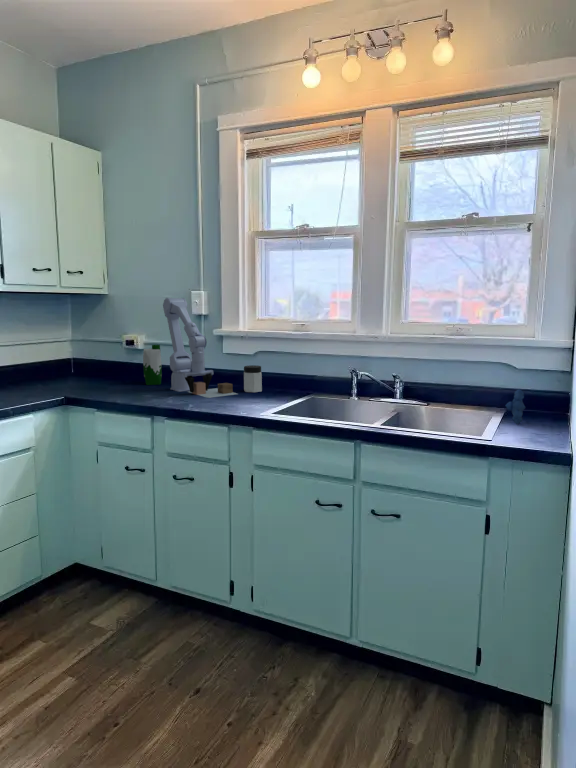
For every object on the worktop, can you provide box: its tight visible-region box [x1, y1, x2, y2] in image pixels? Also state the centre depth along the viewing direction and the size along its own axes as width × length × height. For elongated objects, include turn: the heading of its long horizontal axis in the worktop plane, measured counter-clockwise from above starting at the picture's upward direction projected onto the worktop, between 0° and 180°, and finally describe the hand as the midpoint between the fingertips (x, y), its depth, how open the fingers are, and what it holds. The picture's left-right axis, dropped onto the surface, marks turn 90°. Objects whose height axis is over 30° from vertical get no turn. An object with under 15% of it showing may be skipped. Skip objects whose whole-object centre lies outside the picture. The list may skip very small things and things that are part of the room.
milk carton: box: [142, 344, 163, 386], centre depth 277 cm, size 9×9×20 cm
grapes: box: [505, 388, 526, 425], centre depth 191 cm, size 12×7×12 cm, turn 156°
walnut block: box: [217, 382, 234, 394], centre depth 250 cm, size 5×5×4 cm
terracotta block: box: [192, 381, 206, 396], centre depth 247 cm, size 4×4×5 cm
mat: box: [187, 387, 238, 399], centre depth 250 cm, size 20×16×1 cm
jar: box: [243, 364, 263, 393], centre depth 254 cm, size 9×8×12 cm
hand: (198, 391), depth 248 cm, fingers open, 7 cm apart
